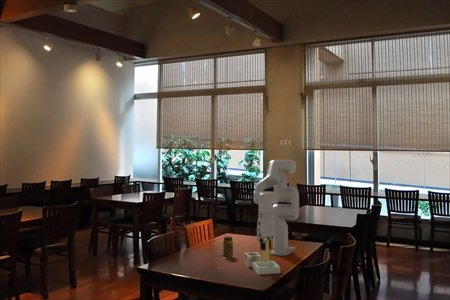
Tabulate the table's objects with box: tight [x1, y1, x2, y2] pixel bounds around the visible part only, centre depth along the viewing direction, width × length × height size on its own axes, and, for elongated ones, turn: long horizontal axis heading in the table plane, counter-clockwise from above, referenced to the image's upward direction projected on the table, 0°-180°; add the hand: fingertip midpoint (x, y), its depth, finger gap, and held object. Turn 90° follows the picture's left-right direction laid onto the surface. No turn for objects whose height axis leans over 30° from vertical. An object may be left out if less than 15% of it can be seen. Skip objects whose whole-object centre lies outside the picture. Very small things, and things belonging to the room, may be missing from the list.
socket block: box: [243, 251, 262, 268], centre depth 228 cm, size 8×8×6 cm
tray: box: [252, 260, 281, 276], centre depth 216 cm, size 12×12×4 cm
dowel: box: [261, 238, 270, 262], centre depth 216 cm, size 4×4×12 cm
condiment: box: [218, 236, 236, 259], centre depth 247 cm, size 7×8×12 cm
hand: (265, 248), depth 216 cm, fingers closed on dowel, 3 cm apart
